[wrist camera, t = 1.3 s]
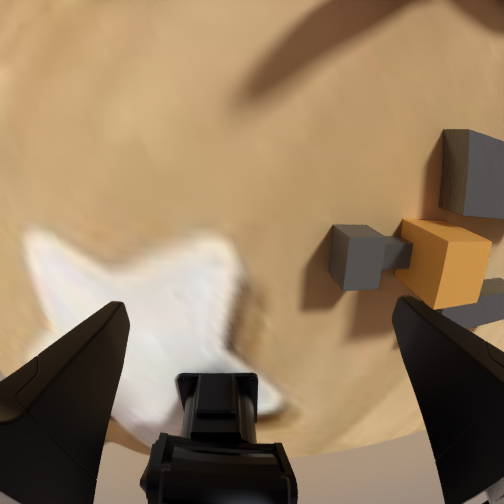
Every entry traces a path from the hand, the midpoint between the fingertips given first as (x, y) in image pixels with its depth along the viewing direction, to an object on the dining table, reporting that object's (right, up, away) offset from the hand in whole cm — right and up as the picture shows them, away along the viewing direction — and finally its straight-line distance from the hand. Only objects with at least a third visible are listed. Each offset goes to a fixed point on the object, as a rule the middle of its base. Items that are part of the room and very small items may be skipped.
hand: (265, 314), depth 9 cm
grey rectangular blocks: (+19, +4, +11) cm, 23 cm away
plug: (+10, +2, +11) cm, 15 cm away
